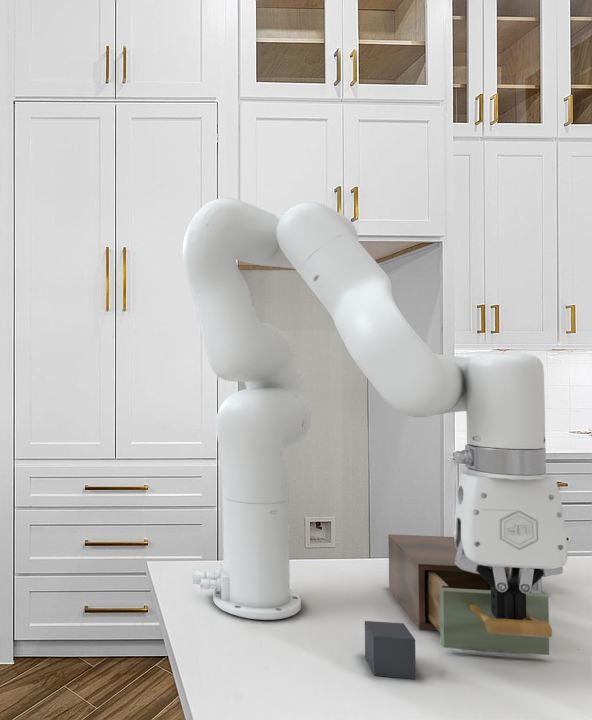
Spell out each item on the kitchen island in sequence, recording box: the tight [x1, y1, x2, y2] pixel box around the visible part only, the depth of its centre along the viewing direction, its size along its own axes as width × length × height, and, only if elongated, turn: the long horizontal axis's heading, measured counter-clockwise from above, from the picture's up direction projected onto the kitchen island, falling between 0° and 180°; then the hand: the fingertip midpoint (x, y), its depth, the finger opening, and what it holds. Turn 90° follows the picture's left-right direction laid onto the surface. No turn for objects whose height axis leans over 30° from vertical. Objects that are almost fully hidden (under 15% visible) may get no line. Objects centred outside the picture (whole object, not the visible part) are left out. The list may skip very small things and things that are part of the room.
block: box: [364, 620, 417, 680], centre depth 69 cm, size 4×4×4 cm
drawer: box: [425, 570, 553, 656], centre depth 75 cm, size 20×11×7 cm, turn 170°
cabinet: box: [387, 533, 510, 631], centre depth 86 cm, size 15×13×9 cm
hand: (508, 623), depth 68 cm, fingers closed
